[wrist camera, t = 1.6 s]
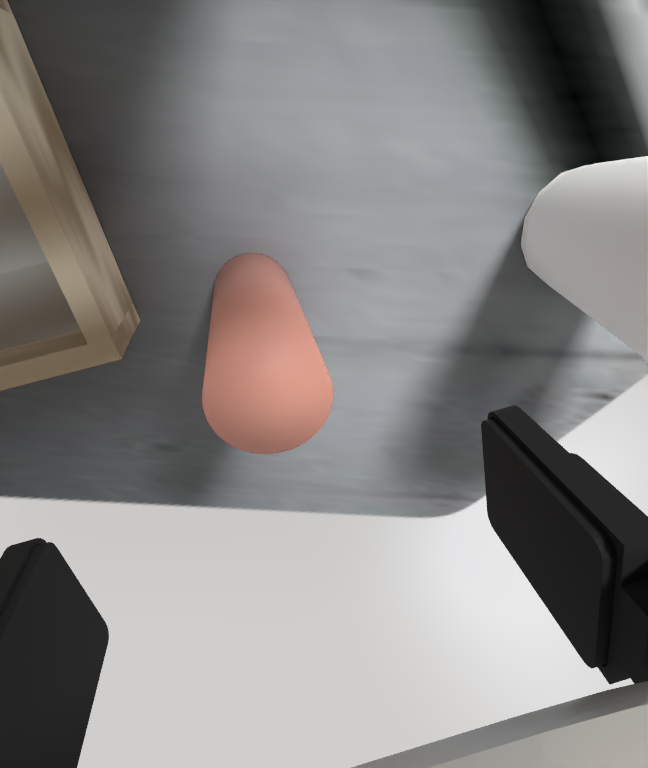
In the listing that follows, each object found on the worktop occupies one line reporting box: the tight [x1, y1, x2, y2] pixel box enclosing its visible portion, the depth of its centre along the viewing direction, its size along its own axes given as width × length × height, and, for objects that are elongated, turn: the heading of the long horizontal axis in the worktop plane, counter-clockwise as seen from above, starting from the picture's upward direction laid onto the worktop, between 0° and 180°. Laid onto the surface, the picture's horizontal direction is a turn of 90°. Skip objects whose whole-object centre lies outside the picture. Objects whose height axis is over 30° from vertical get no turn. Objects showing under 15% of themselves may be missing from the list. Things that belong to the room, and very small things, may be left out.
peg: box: [202, 253, 333, 454], centre depth 20 cm, size 4×4×12 cm
